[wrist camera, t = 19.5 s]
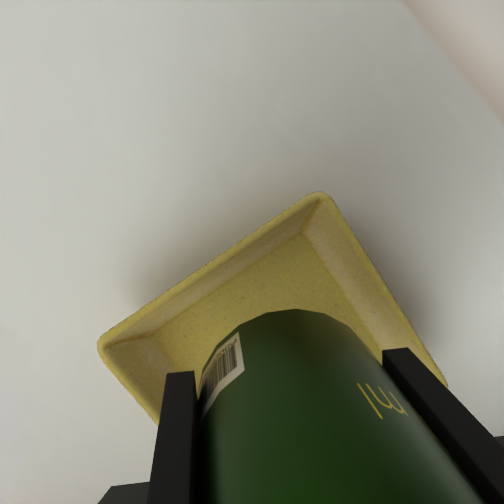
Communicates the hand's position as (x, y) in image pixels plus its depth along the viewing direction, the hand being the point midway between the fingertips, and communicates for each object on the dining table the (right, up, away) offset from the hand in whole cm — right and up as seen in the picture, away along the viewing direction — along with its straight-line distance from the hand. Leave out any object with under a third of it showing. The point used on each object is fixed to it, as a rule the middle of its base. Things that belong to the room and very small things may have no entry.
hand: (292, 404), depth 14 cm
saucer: (0, +1, +4) cm, 4 cm away
